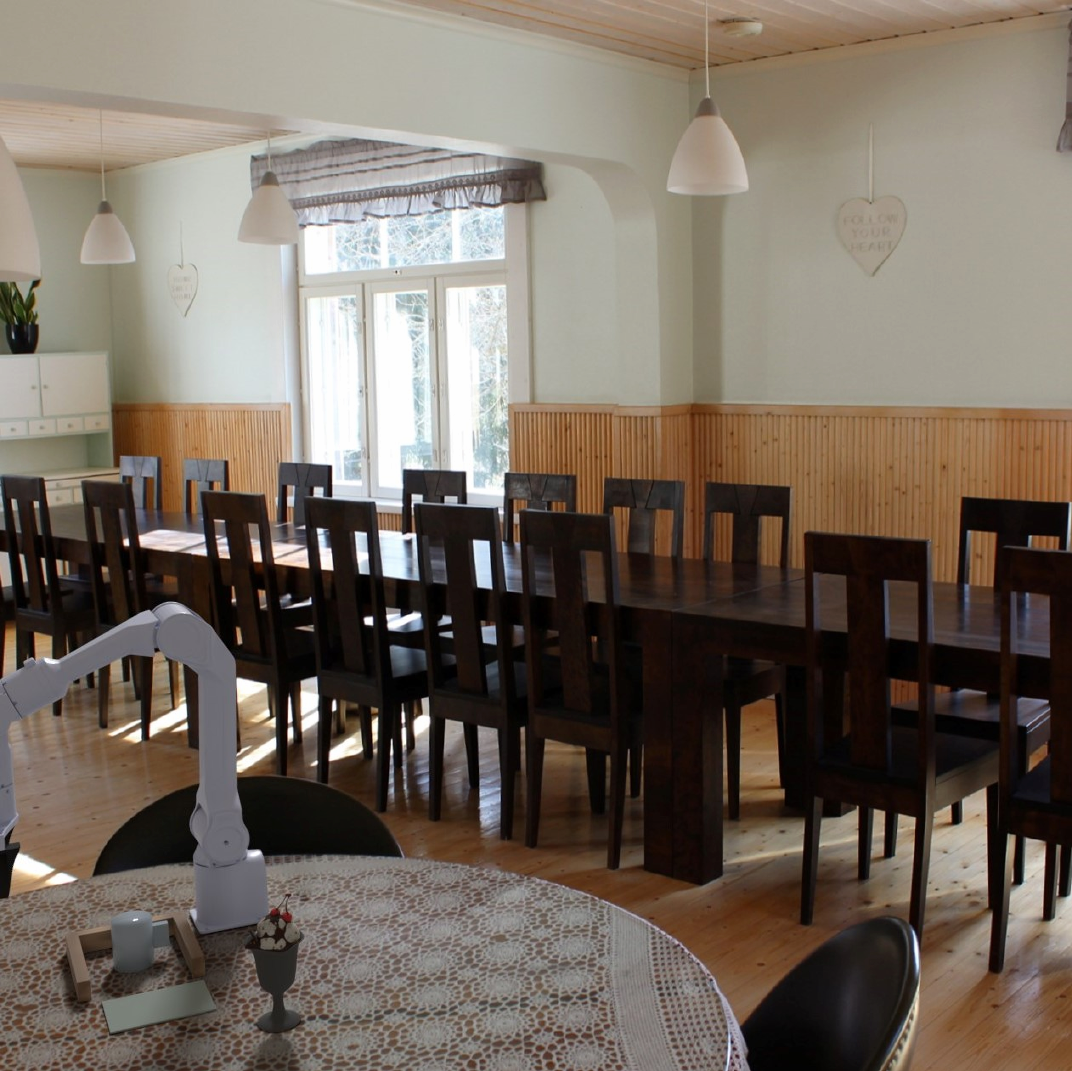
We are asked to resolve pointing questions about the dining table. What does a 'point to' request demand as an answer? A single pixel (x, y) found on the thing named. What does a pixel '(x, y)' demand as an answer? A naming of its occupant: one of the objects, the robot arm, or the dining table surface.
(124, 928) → the grey rounded cylinder
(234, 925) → the robot arm
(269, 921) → the sundae
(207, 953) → the dining table surface
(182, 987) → the mat
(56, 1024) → the dining table surface
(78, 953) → the wooden frame
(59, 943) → the dining table surface
